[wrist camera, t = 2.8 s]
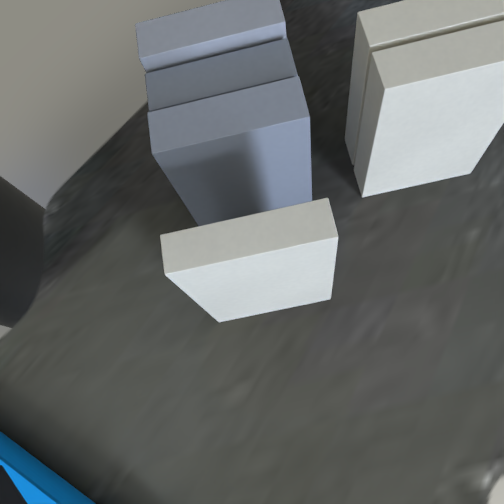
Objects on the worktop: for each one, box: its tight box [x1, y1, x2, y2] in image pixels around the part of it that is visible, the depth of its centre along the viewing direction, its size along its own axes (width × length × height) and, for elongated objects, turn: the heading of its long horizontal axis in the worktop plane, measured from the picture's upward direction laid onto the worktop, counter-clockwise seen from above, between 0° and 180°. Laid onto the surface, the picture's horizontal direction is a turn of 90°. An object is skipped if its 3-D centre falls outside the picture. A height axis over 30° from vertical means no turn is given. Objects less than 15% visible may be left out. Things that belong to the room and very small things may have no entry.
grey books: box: [135, 0, 312, 226], centre depth 38 cm, size 12×11×14 cm
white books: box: [345, 0, 504, 197], centre depth 35 cm, size 6×10×15 cm, turn 100°
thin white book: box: [160, 198, 338, 322], centre depth 32 cm, size 2×10×15 cm, turn 100°
